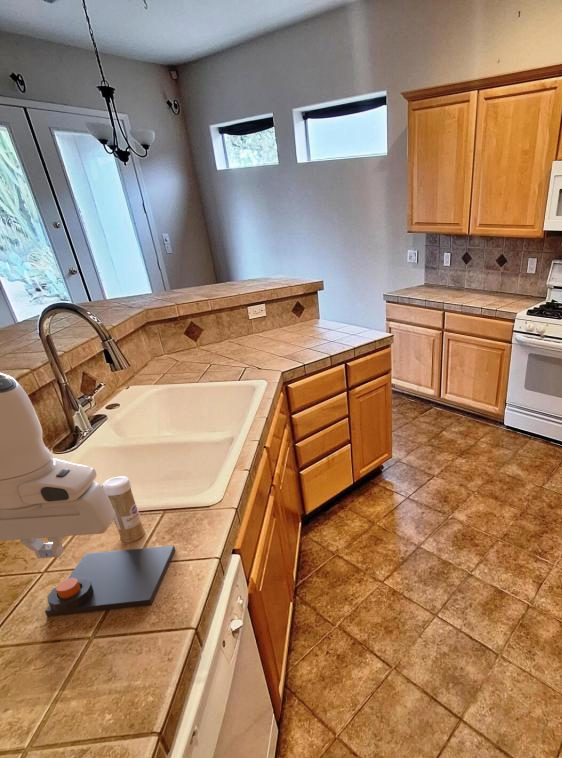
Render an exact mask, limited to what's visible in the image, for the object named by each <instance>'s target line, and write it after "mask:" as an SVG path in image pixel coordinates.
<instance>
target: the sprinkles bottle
mask: <svg viewBox="0 0 562 758" xmlns="http://www.w3.org/2000/svg"><path fill="white" fill-rule="evenodd" d="M101 486H102V487H103V488H104V490H105V491H106V493H107V495H108V497H109V500H110V502H111V505H112V507H113V510H114V514H115V517H114V520H113V521H114V525H115V527H116V530H117V532H118V535H119V539H120V541H121V542H123V543H132V542H137V541H138V540H140V539H141V538H143V537H144V535H145V534H146V533H145V532H146V530H145V528H144V526H143V523H142V520H141V519H142V518H141V516H140V512H139V509H138V507H137V504H136V501H135V498H134V494H133V491H132V483H131V481H130V478H128V477H127V476H123V475H120V476H114V477H111V478H108V479H107V480H104V481H103V483H102V485H101Z"/></svg>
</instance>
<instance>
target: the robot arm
mask: <svg viewBox="0 0 562 758" xmlns="http://www.w3.org/2000/svg"><path fill="white" fill-rule="evenodd" d="M95 469H96V468H94V467H92V466H90V465H89V466H88V465H84V464H79V463H73V462H70V461H65V460H61V459H58V458H54V457H53V455H52V453H51V451H50V449H49V448H48V447H47V446H46V445H45V442H44V440H43V427H42V425H41V421H40V419H39V417H38V414H37V412H36V410H35V407H34V405H33V403H32V401H31V399H30V397H29V395H28V394H27V392H26V391H25V389H24V388H23V387H22V385H21V384H20V383H19V382H18V381H17V379H15V378H14V377H12V376H10V375H8V374H6V373H2V372H0V542H5V541H18V540H19V541H20V542H21V545H23V546H25V547H26V548H28V549H29V550H31V551H32V552H34V553H35V555H36V558H37V559H50V558H60V557H61V556H62V555H63V553H64V551H65V549H64V546H63V544H62V543H63V540H64V538H65V537H74V536H88V535H89V536H90V535H101V534H104V533H105V532H106V531H107V530H108V529H109V528H110V527H111V525H112V524H113V521H114V517H115V514H114V510H113V507H112V505H111V502H110V500H109V497H108V495H107V493H106V491H105V490H104V488H103V487H102V485H101V484H99V483H98V482H96V481H95V480H96V478H97V476H98V475H97V471H96V470H95ZM45 538H46V539H47V540H48V542H45V541H43V539H45Z"/></svg>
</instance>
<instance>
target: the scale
mask: <svg viewBox="0 0 562 758" xmlns="http://www.w3.org/2000/svg"><path fill="white" fill-rule="evenodd" d="M176 551H177V550H176V547H175V545H164V546H154V547H151V546H150V547H141V548H140V547H139V548H131V549H120V550H108V551H99V552H86V553H85V554H84V555H83V557H82V558H81V559H80V561H79V562H78V563H77V565H76V566H75V567H74V569H73V570H72V572H71V573H70V575H69V576H68V578H67V579H69V578H75V579H77V580H78V582H79V585H80V587H81V590H80V591H79V593H77V594H76V595H74V596H72V597H70V598H67V599H61V598H60V597H59V595H58V593H57V591H56V586H55V587H54V588H52V590H51V591H50V592H49V593H48V594H47V596H46V597H47V603H48V606H47V607H46V609H45V610H44V613H45V616H46V617H47V618H53V617H61V616H70V615H78V614H79V615H81V614H88V613H97V612H98V613H99V612H105V611H114V610H123V609H132V608H141V607H150V606H153V603H154V601H155V599H156V596H157V595H158V592H159V590H160V587H161V585H162V583H163V581H164V578H165V576H166V573H167V572H168V569H169V567H170V565H171V562H172V560H173V558H174V556H175V553H176Z"/></svg>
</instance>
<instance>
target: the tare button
mask: <svg viewBox="0 0 562 758" xmlns="http://www.w3.org/2000/svg"><path fill="white" fill-rule="evenodd" d="M68 578H69V577H68ZM68 578H66V579H63V580H62V581H60V582H59V583H58V584H57V585H56V586H55V587H56V591H57V593H58V595H59V597H60V598H61V599H67V598H70V597H72V596H74V595H76V594H77V593H79V591H80V590H81V587H80V585H79V582H78V580H77V579H75V578H69V579H68Z"/></svg>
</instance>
